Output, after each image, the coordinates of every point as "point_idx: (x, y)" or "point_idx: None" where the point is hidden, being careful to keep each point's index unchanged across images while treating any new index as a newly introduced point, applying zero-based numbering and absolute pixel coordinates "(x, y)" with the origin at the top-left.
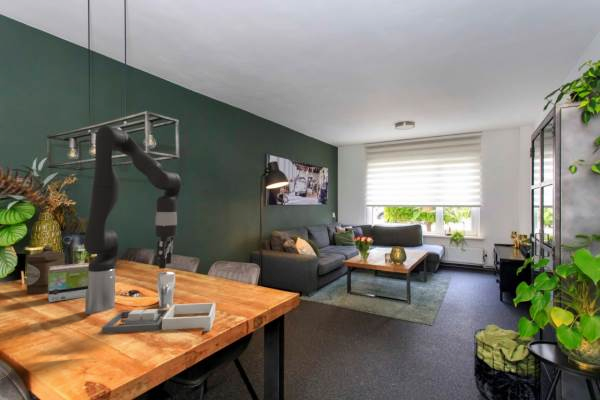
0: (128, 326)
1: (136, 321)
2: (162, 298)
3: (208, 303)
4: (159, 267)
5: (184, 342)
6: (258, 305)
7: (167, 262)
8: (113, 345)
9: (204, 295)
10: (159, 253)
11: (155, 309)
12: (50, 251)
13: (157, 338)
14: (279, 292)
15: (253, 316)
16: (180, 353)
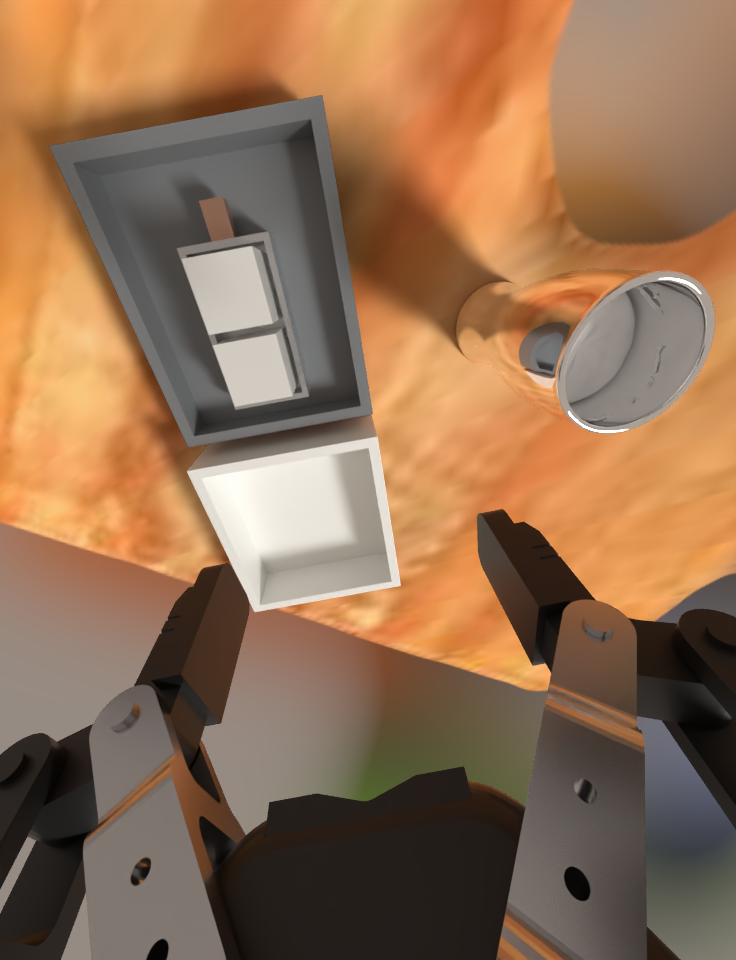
0: (127, 315)
1: (202, 317)
2: (483, 328)
3: (390, 567)
4: (201, 577)
5: (168, 537)
6: (473, 635)
7: (482, 542)
8: (48, 298)
9: (647, 441)
10: (98, 797)
11: (283, 388)
12: None
13: (168, 446)
14: None
15: (381, 640)
16: (102, 553)
